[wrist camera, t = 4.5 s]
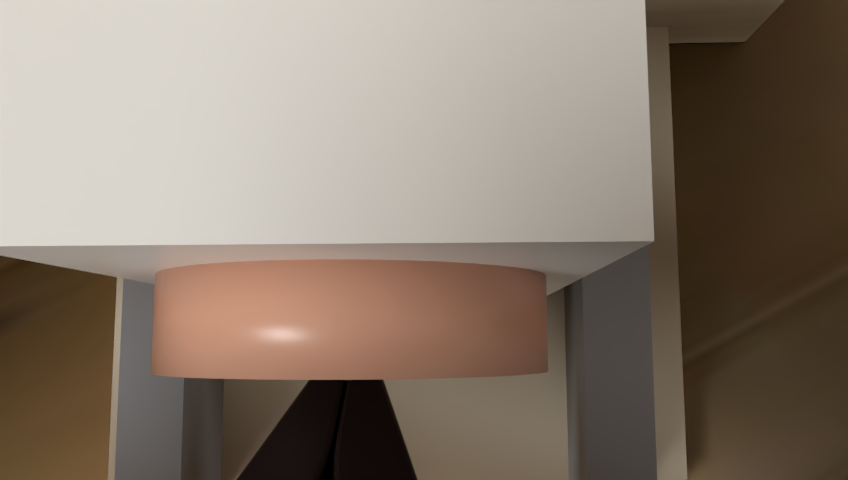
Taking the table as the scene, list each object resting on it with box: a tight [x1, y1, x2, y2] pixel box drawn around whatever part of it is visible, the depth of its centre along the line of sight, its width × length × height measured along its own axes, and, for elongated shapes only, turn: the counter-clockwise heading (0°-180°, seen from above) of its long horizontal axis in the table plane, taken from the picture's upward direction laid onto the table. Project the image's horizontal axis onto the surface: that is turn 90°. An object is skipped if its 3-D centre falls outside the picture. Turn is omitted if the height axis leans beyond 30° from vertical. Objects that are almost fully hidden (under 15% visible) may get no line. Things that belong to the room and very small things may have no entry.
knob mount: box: [108, 0, 785, 480], centre depth 11 cm, size 12×16×14 cm
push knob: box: [0, 0, 654, 380], centre depth 12 cm, size 6×6×10 cm
